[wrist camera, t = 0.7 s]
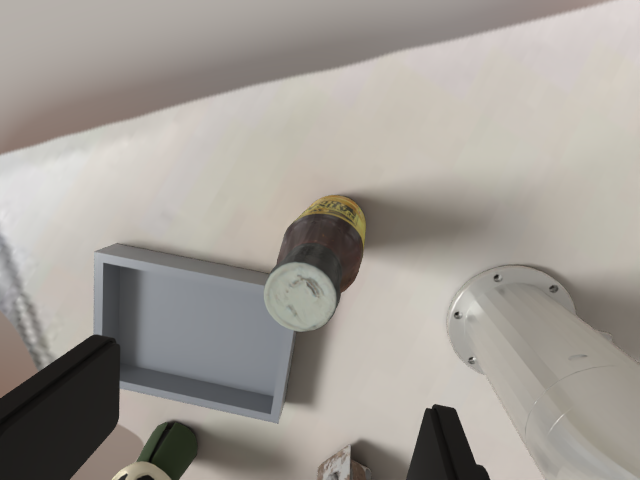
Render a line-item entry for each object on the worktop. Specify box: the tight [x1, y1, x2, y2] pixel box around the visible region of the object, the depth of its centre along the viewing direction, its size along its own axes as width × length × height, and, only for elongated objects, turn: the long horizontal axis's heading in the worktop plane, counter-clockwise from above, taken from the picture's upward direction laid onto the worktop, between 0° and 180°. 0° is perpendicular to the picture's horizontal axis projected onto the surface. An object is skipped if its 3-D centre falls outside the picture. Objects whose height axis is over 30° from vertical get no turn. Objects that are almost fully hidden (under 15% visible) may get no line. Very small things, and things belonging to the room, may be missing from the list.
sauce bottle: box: [264, 195, 366, 332], centre depth 28 cm, size 7×6×20 cm
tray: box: [94, 244, 297, 424], centre depth 41 cm, size 22×16×4 cm
